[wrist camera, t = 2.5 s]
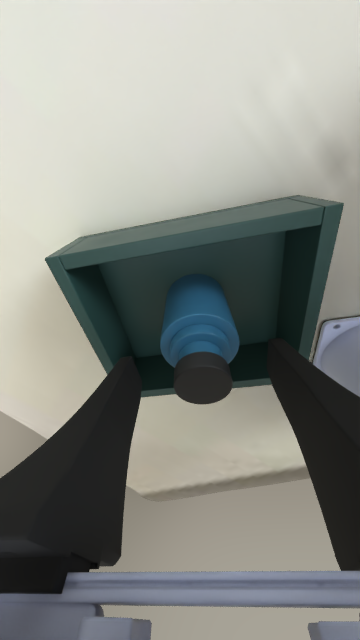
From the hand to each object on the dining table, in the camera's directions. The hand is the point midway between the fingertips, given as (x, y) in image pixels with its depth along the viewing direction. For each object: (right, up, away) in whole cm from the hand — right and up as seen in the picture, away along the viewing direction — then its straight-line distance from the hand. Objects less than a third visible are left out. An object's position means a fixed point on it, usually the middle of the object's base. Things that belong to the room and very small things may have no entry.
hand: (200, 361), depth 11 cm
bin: (0, +4, +6) cm, 7 cm away
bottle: (0, +4, +5) cm, 7 cm away
